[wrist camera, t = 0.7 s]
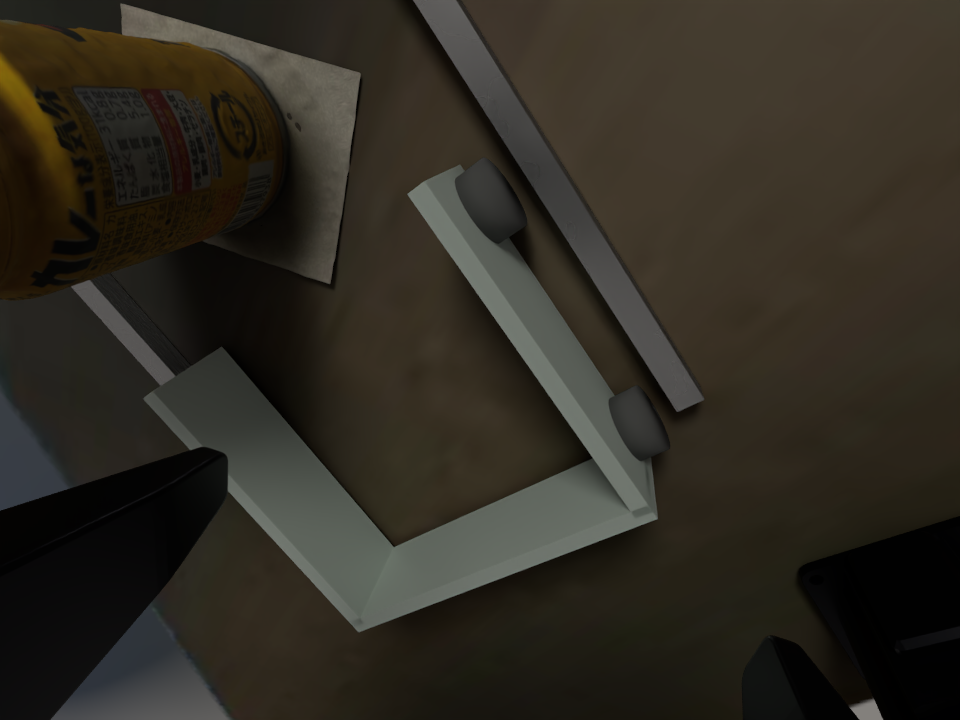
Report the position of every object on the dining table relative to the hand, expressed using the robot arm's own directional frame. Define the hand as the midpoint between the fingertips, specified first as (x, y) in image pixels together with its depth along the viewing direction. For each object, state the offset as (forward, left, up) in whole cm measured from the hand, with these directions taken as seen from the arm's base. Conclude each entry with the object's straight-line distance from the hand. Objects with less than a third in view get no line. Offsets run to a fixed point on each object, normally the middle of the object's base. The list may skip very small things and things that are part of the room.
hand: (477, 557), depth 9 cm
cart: (0, +6, -12) cm, 14 cm away
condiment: (+11, +6, -13) cm, 18 cm away
